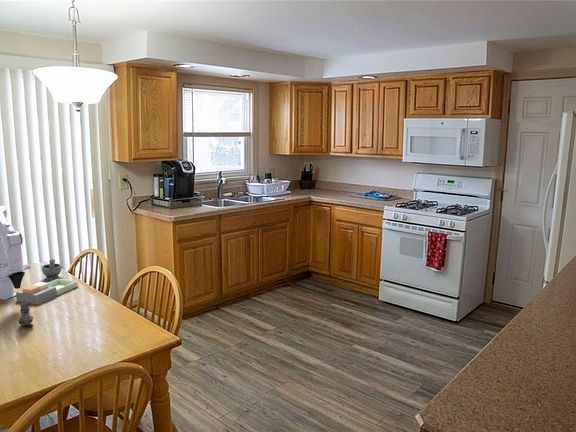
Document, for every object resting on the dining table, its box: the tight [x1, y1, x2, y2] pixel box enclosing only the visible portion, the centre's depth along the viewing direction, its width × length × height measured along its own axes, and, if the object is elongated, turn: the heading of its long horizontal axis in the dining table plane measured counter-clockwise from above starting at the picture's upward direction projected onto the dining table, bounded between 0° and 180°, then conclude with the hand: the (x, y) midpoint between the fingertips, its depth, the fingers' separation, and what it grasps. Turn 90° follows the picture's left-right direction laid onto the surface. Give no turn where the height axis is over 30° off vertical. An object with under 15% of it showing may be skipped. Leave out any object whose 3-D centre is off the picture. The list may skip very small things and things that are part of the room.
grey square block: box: [15, 286, 57, 305], centre depth 227 cm, size 12×12×4 cm
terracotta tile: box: [21, 285, 40, 294], centre depth 223 cm, size 5×5×2 cm
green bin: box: [47, 278, 79, 297], centre depth 240 cm, size 12×14×3 cm
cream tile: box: [31, 281, 49, 290], centre depth 229 cm, size 5×5×2 cm
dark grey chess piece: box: [17, 300, 34, 330], centre depth 195 cm, size 6×6×12 cm
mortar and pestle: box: [41, 258, 62, 281], centre depth 256 cm, size 11×9×12 cm
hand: (17, 288), depth 216 cm, fingers closed
